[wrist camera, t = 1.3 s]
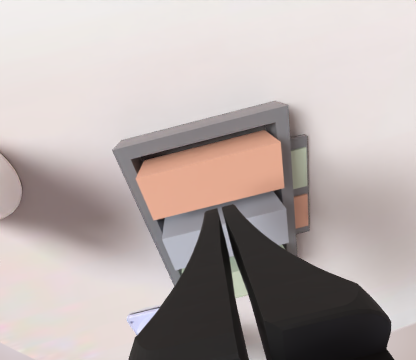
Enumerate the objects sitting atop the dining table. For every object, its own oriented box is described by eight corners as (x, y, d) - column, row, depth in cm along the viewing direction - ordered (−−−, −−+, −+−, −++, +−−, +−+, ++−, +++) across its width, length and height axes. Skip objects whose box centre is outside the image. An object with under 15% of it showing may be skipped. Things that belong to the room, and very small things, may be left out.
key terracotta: (268, 169, 19) (284, 188, 16) (158, 197, 19) (153, 220, 16) (264, 129, 17) (280, 141, 14) (144, 160, 18) (135, 178, 15)
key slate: (274, 218, 22) (288, 242, 19) (176, 242, 22) (175, 270, 19) (270, 187, 20) (286, 208, 17) (165, 214, 20) (161, 239, 17)
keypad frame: (288, 255, 26) (298, 273, 24) (181, 281, 26) (181, 301, 24) (274, 100, 18) (288, 105, 16) (121, 140, 18) (112, 150, 16)
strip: (307, 228, 25) (310, 232, 24) (289, 232, 25) (292, 236, 24) (304, 134, 20) (308, 136, 19) (282, 139, 20) (285, 142, 19)
